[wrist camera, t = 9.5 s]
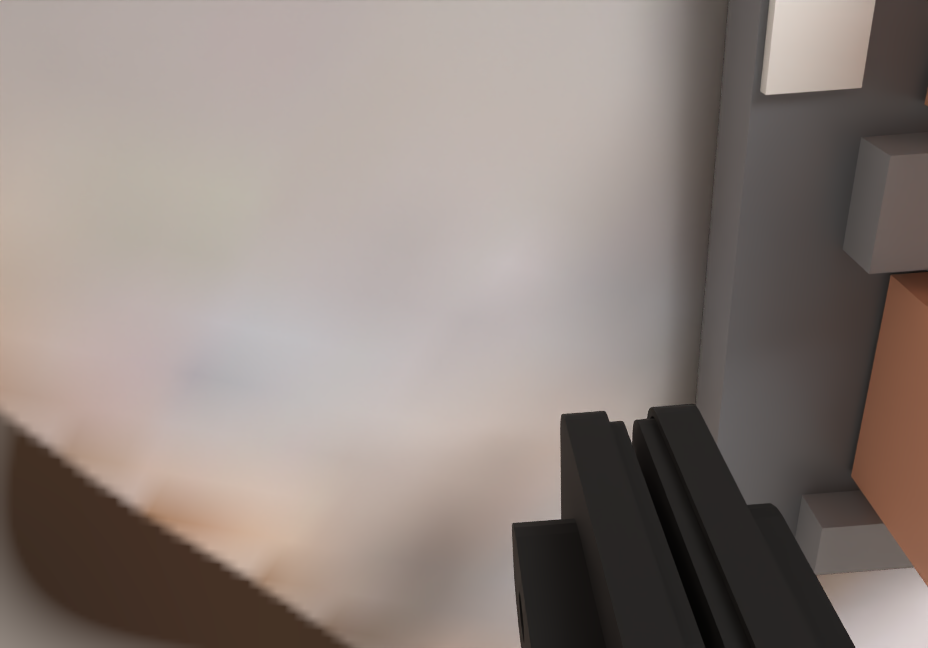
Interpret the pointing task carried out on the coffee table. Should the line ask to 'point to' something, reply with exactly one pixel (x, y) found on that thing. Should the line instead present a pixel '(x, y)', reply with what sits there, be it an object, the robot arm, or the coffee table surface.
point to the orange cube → (899, 420)
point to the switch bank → (811, 253)
